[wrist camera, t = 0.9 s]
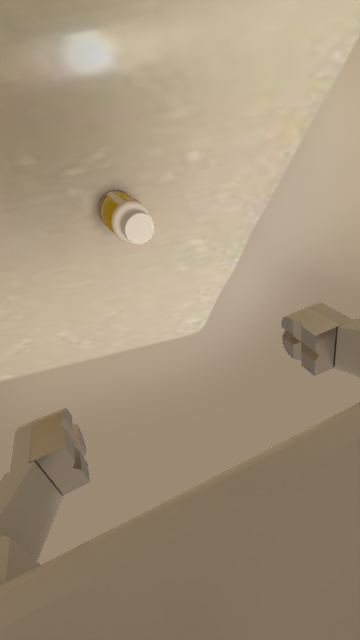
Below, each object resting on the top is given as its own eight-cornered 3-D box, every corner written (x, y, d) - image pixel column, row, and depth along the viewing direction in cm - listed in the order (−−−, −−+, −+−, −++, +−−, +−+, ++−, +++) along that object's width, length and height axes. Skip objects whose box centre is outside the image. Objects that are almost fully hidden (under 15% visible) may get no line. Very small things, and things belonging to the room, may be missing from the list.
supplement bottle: (107, 233, 46) (128, 257, 39) (91, 199, 43) (111, 218, 36) (138, 218, 47) (165, 238, 40) (125, 183, 44) (151, 199, 37)
